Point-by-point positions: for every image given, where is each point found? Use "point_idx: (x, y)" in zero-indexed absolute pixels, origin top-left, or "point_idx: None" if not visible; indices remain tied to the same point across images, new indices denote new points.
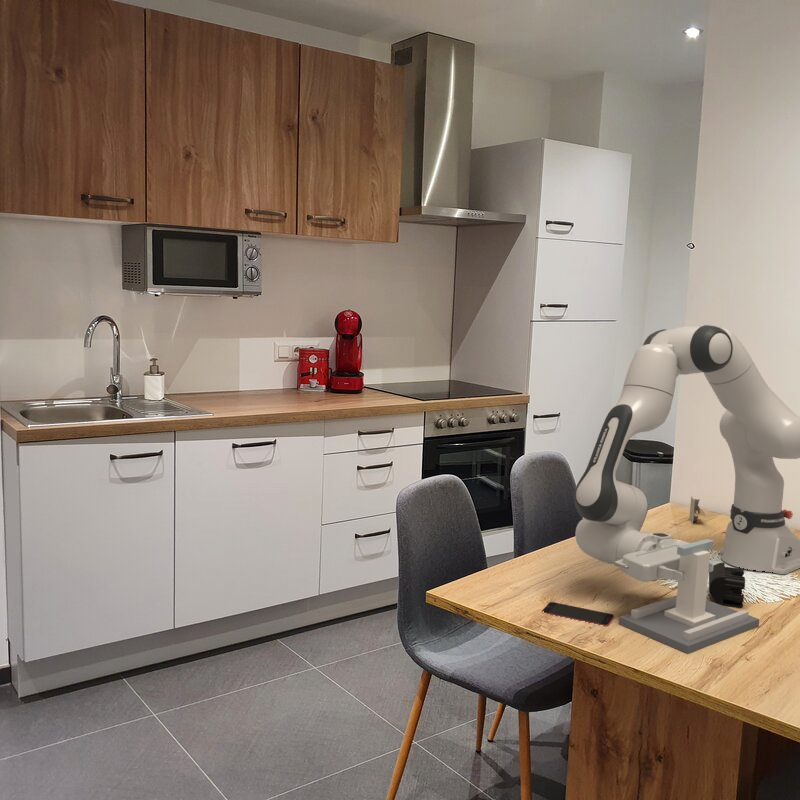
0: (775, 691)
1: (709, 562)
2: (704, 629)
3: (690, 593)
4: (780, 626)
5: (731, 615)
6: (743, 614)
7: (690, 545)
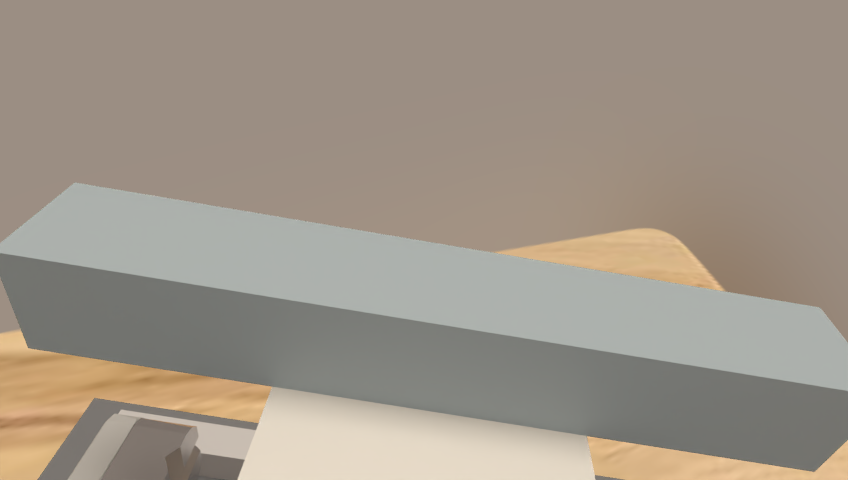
0: (584, 264)
1: (92, 447)
2: None
3: None
4: (46, 362)
5: (245, 448)
6: (170, 420)
7: (610, 306)
